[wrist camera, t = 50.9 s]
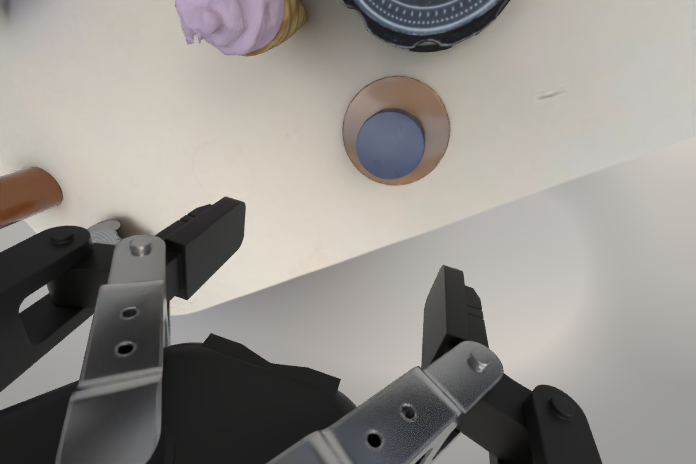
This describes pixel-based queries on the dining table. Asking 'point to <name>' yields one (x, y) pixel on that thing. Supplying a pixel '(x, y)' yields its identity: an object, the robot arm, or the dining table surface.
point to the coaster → (405, 97)
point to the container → (426, 21)
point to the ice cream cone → (241, 23)
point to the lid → (390, 143)
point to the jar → (27, 195)
